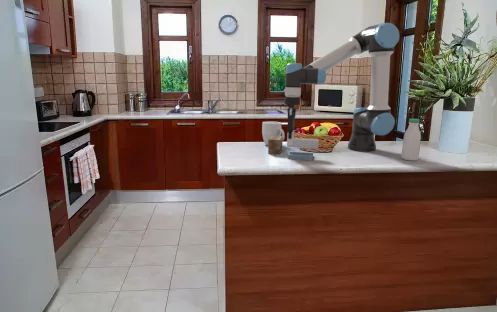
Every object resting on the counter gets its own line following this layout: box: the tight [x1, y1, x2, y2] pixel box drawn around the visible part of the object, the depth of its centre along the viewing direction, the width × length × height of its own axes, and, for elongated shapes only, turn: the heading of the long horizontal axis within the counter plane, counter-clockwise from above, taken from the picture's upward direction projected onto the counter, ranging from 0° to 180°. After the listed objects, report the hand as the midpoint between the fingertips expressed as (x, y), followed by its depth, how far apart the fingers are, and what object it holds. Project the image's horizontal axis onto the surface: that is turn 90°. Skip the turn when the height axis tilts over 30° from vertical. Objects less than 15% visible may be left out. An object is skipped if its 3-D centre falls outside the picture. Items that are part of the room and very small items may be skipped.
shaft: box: [286, 137, 319, 150], centre depth 173 cm, size 15×4×4 cm, turn 78°
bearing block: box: [267, 135, 284, 155], centre depth 187 cm, size 6×12×8 cm, turn 168°
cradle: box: [287, 150, 314, 161], centre depth 175 cm, size 12×9×2 cm
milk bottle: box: [401, 118, 422, 162], centre depth 173 cm, size 8×8×20 cm
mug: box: [261, 120, 285, 146], centre depth 203 cm, size 15×11×13 cm
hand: (290, 144), depth 175 cm, fingers closed on shaft, 4 cm apart
